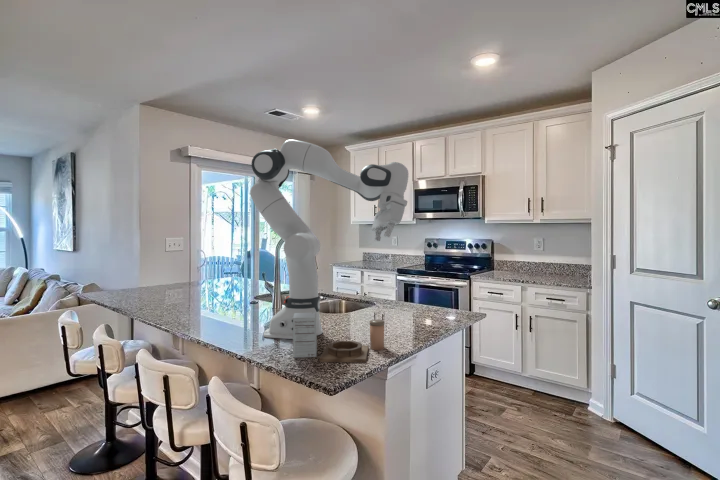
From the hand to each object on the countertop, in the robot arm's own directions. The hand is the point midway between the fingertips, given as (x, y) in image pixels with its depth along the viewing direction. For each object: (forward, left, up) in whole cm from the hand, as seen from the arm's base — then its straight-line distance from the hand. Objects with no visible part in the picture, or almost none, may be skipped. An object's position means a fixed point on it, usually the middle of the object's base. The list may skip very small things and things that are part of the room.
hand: (381, 239), depth 142 cm
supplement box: (-24, -20, -37) cm, 48 cm away
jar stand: (-11, -20, -36) cm, 43 cm away
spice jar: (-2, -12, -36) cm, 38 cm away
